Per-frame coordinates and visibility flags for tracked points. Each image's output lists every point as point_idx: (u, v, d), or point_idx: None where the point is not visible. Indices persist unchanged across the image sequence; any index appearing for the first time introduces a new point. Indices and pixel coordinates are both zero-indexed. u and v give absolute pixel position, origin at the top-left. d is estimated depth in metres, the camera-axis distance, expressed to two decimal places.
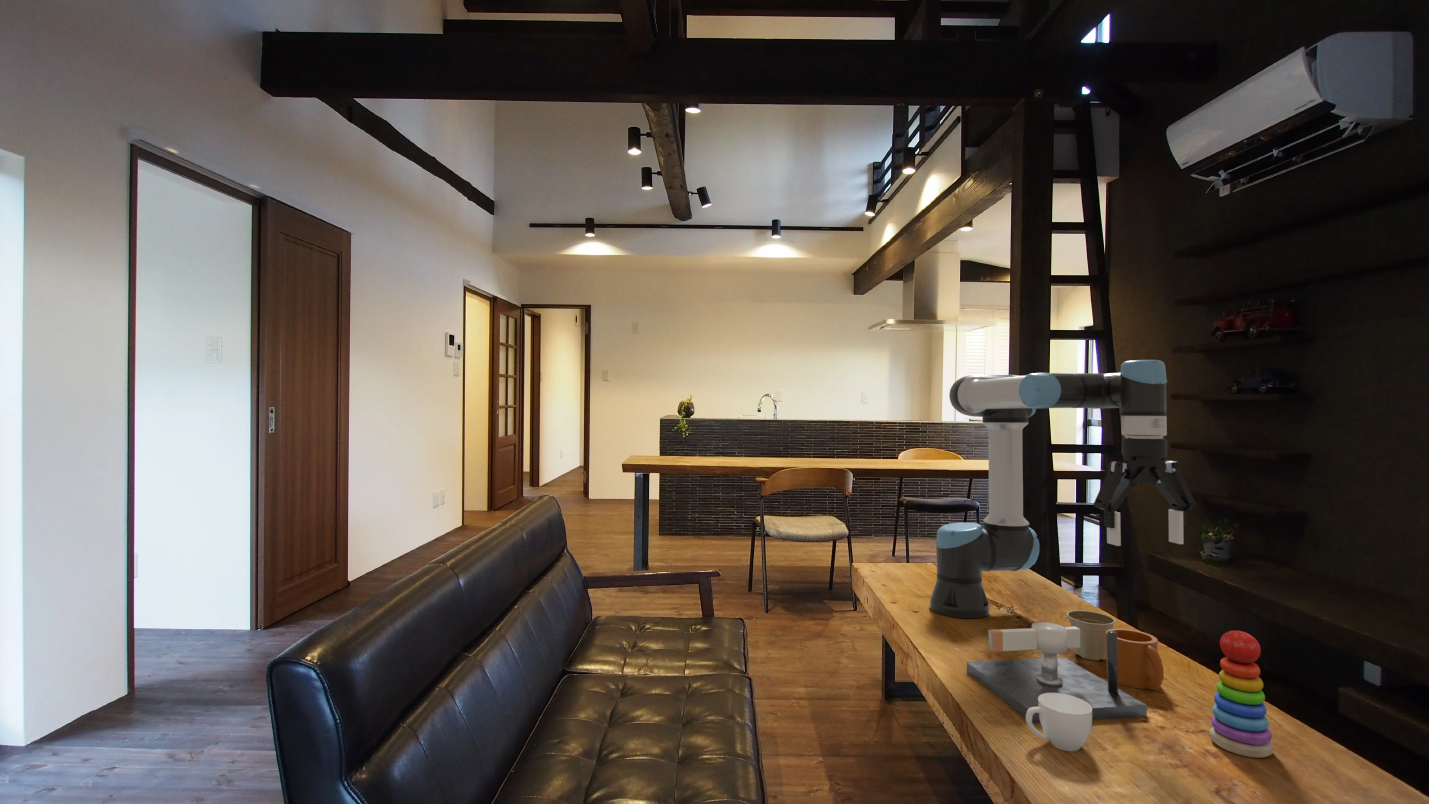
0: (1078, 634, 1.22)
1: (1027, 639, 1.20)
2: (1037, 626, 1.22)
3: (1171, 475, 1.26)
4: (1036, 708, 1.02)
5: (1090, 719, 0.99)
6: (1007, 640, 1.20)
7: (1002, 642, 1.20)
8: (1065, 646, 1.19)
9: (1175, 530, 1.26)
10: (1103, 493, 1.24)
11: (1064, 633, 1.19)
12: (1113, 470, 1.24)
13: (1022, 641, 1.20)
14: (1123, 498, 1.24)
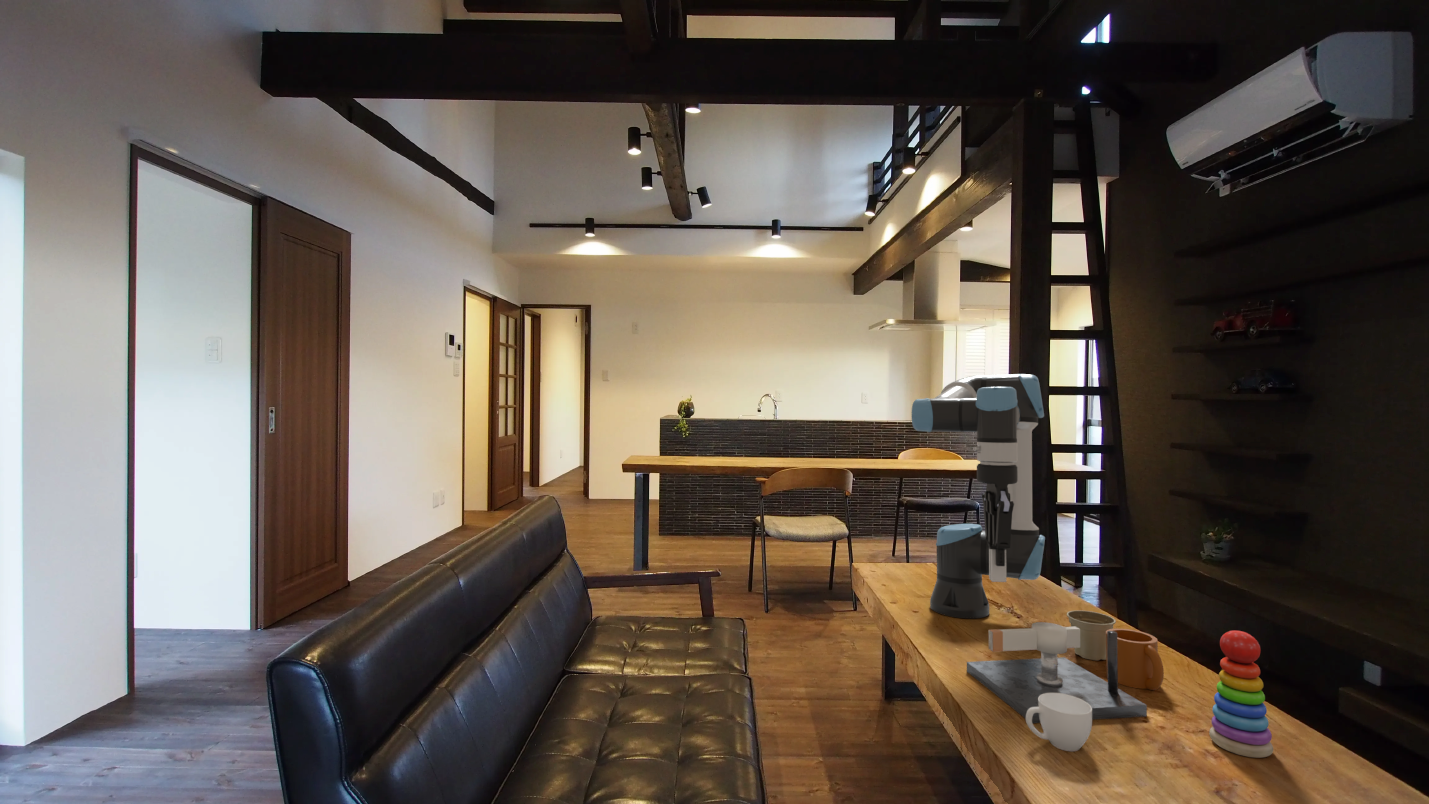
0: (1078, 634, 1.22)
1: (1027, 639, 1.20)
2: (1037, 626, 1.22)
3: None
4: (1036, 708, 1.02)
5: (1090, 719, 0.99)
6: (1007, 640, 1.20)
7: (1002, 642, 1.20)
8: (1065, 646, 1.19)
9: None
10: None
11: (1064, 633, 1.19)
12: None
13: (1022, 641, 1.20)
14: (989, 528, 1.28)
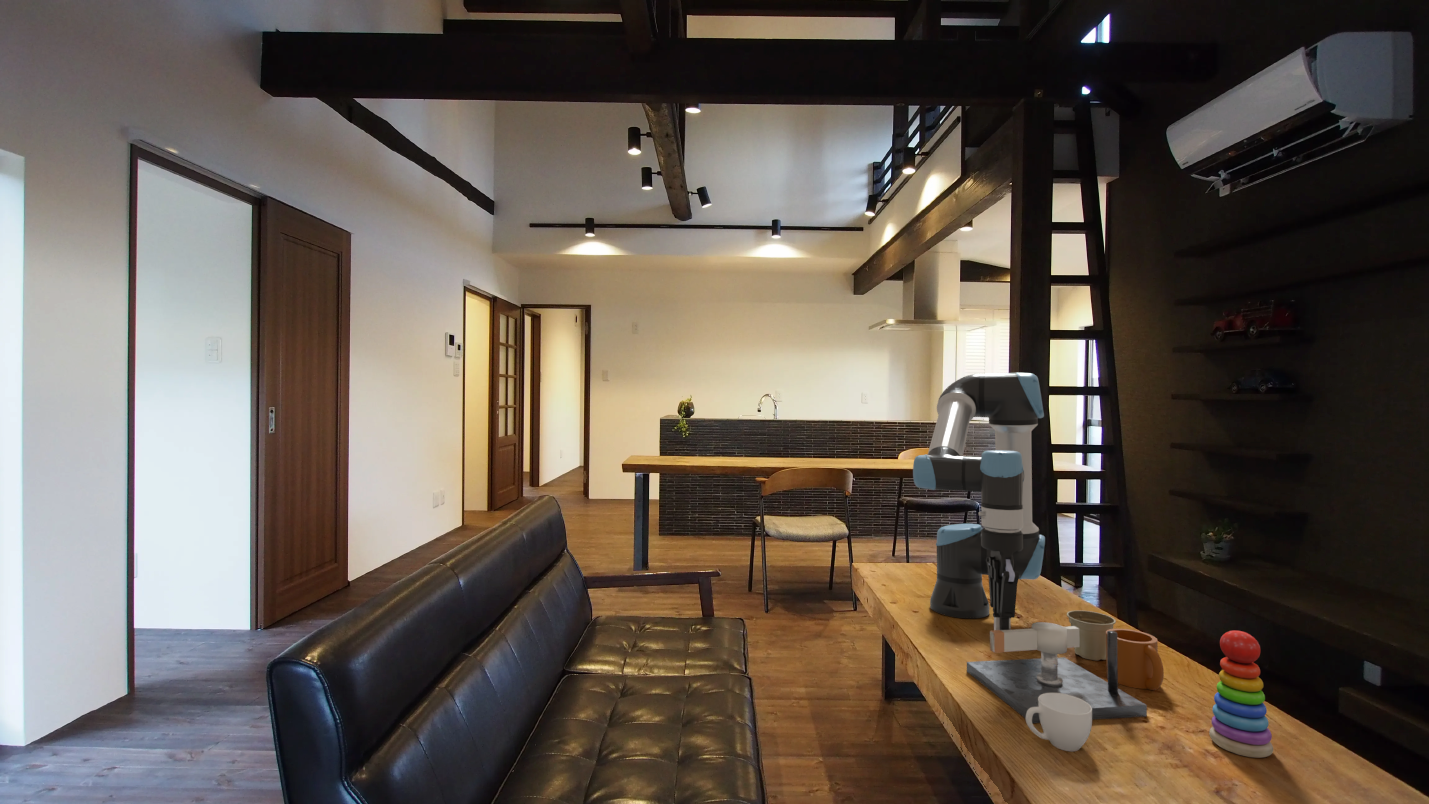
0: (1077, 634, 1.22)
1: (1028, 639, 1.20)
2: (1037, 626, 1.22)
3: None
4: (1036, 708, 1.02)
5: (1090, 719, 0.99)
6: (1008, 641, 1.20)
7: (1003, 643, 1.19)
8: (1065, 646, 1.19)
9: None
10: None
11: (1064, 633, 1.19)
12: None
13: (1023, 641, 1.20)
14: (994, 595, 1.25)
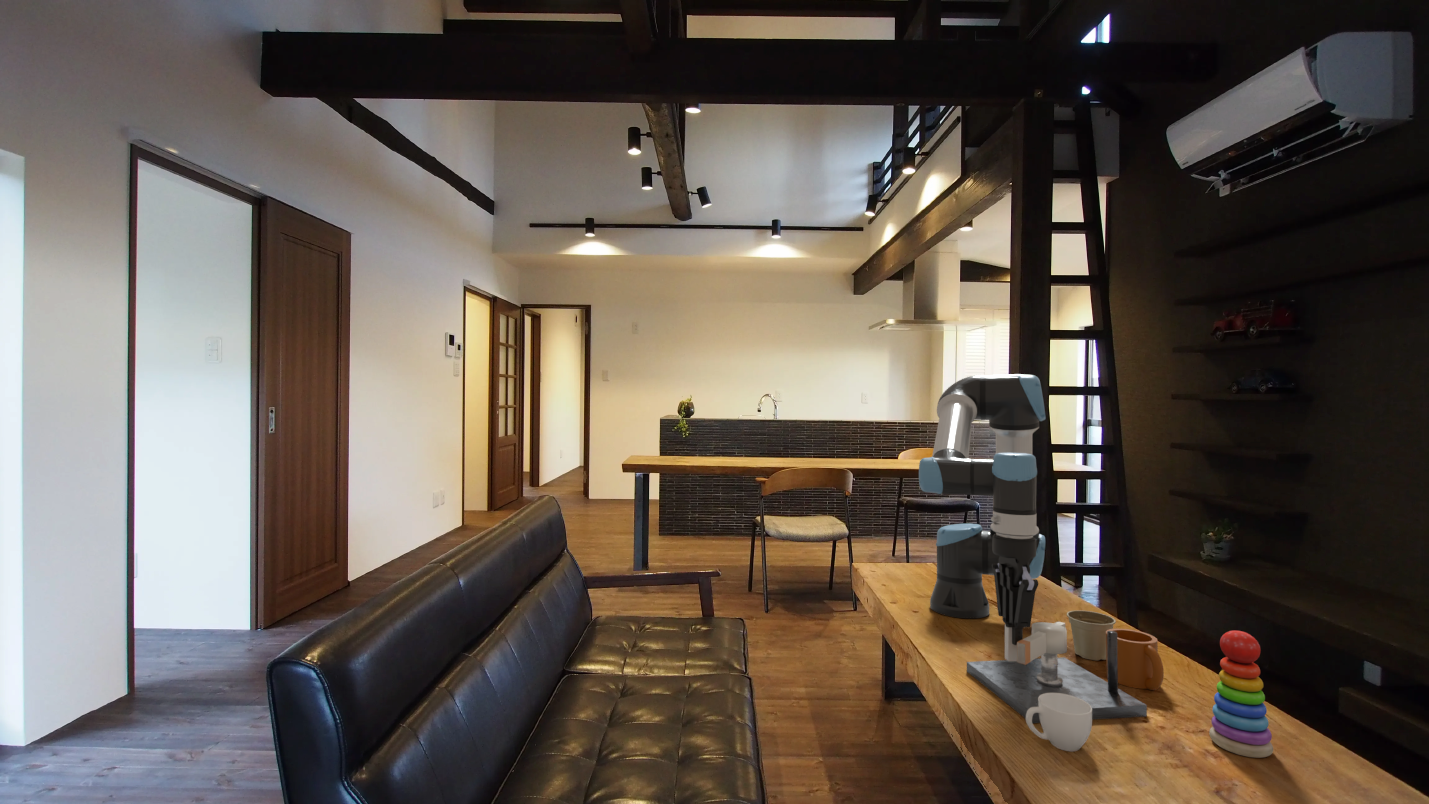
0: None
1: (1041, 644, 1.18)
2: (1041, 628, 1.21)
3: None
4: (1036, 708, 1.02)
5: (1090, 719, 0.99)
6: (1032, 649, 1.15)
7: (1030, 652, 1.15)
8: None
9: None
10: None
11: None
12: None
13: (1039, 647, 1.17)
14: (1005, 604, 1.19)
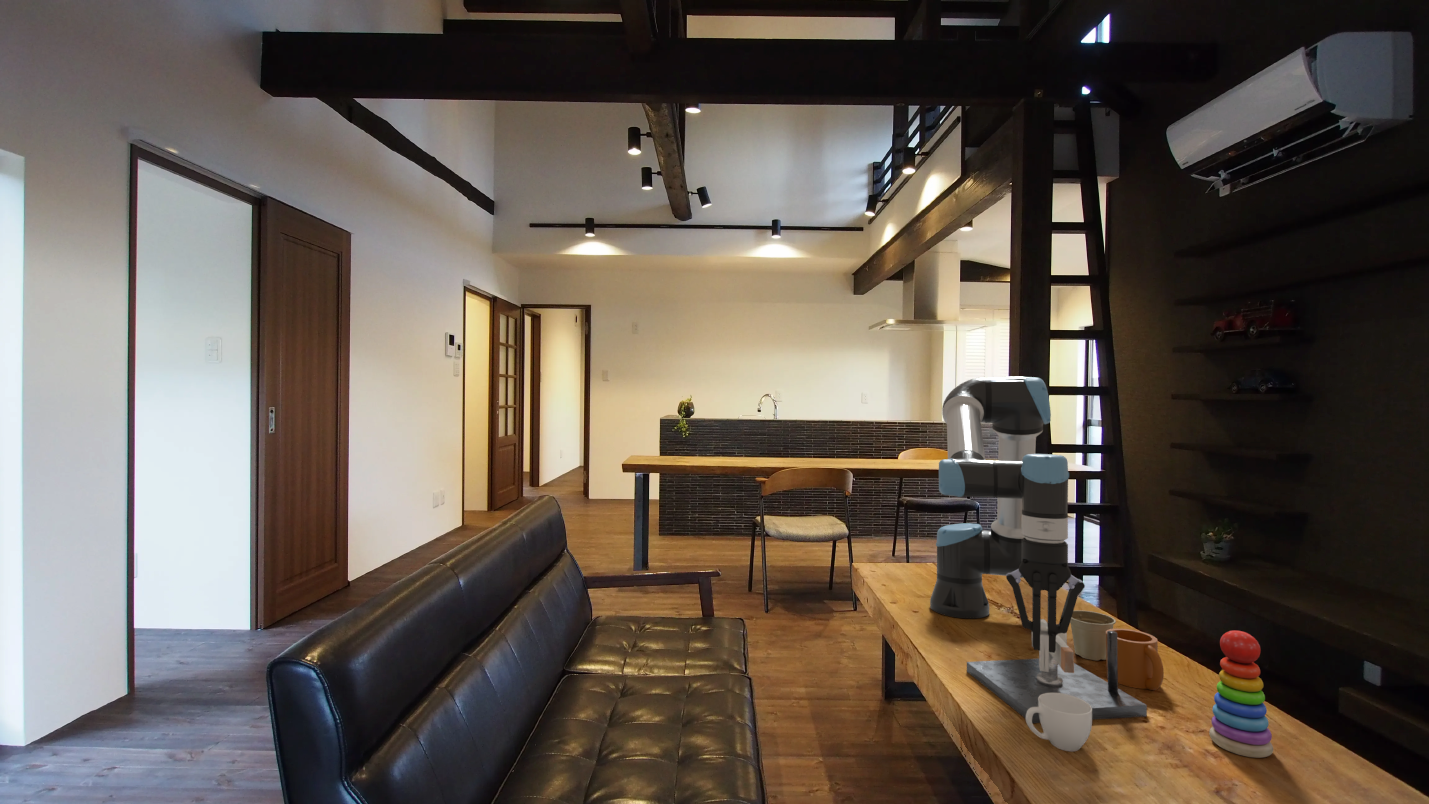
0: None
1: None
2: None
3: (1069, 592, 1.13)
4: (1036, 708, 1.02)
5: (1090, 719, 0.99)
6: None
7: None
8: None
9: None
10: None
11: None
12: None
13: None
14: (1038, 614, 1.14)
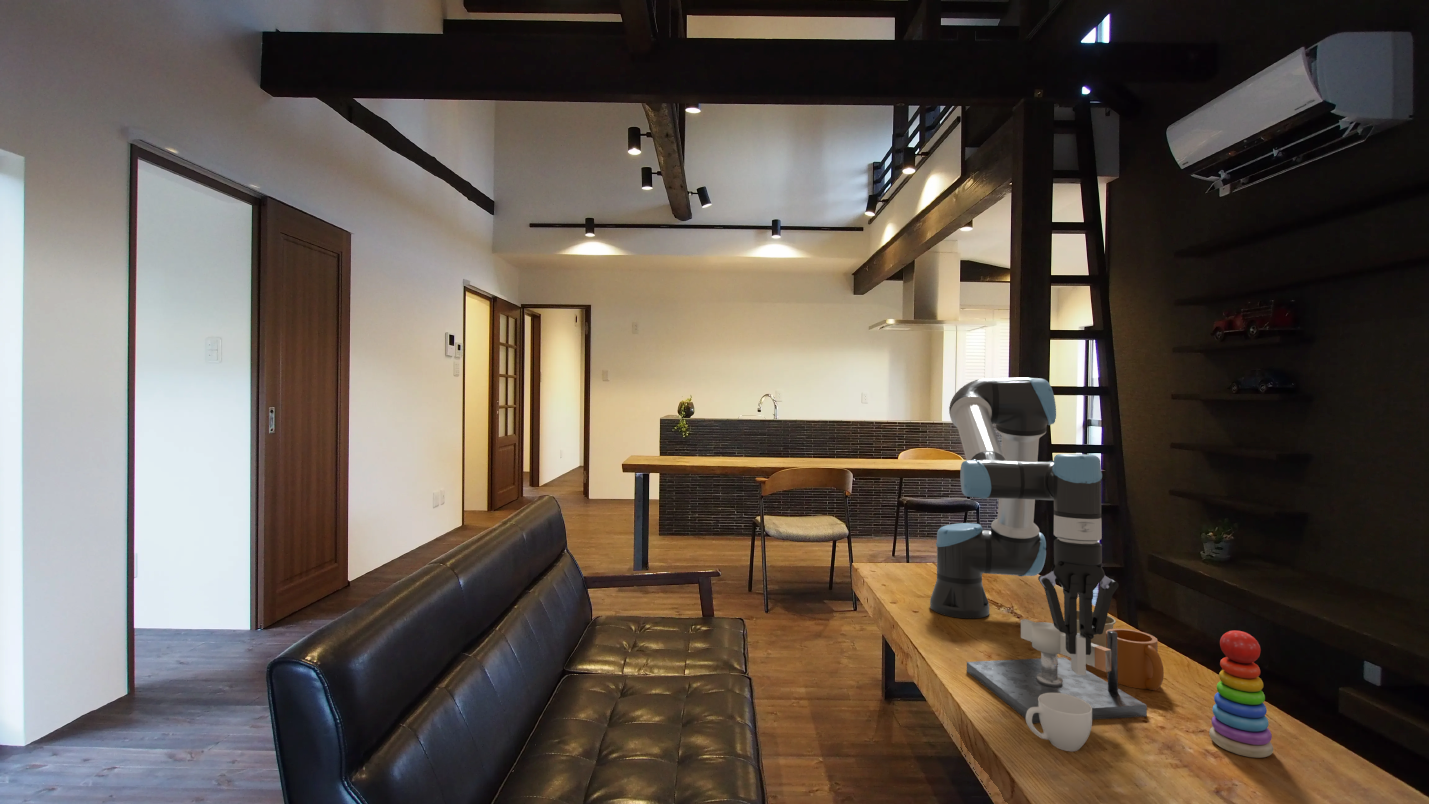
0: None
1: None
2: (1055, 630, 1.20)
3: (1102, 592, 1.12)
4: (1036, 708, 1.02)
5: (1090, 719, 0.99)
6: None
7: None
8: None
9: None
10: (1053, 615, 1.13)
11: None
12: (1045, 587, 1.14)
13: None
14: (1075, 616, 1.12)
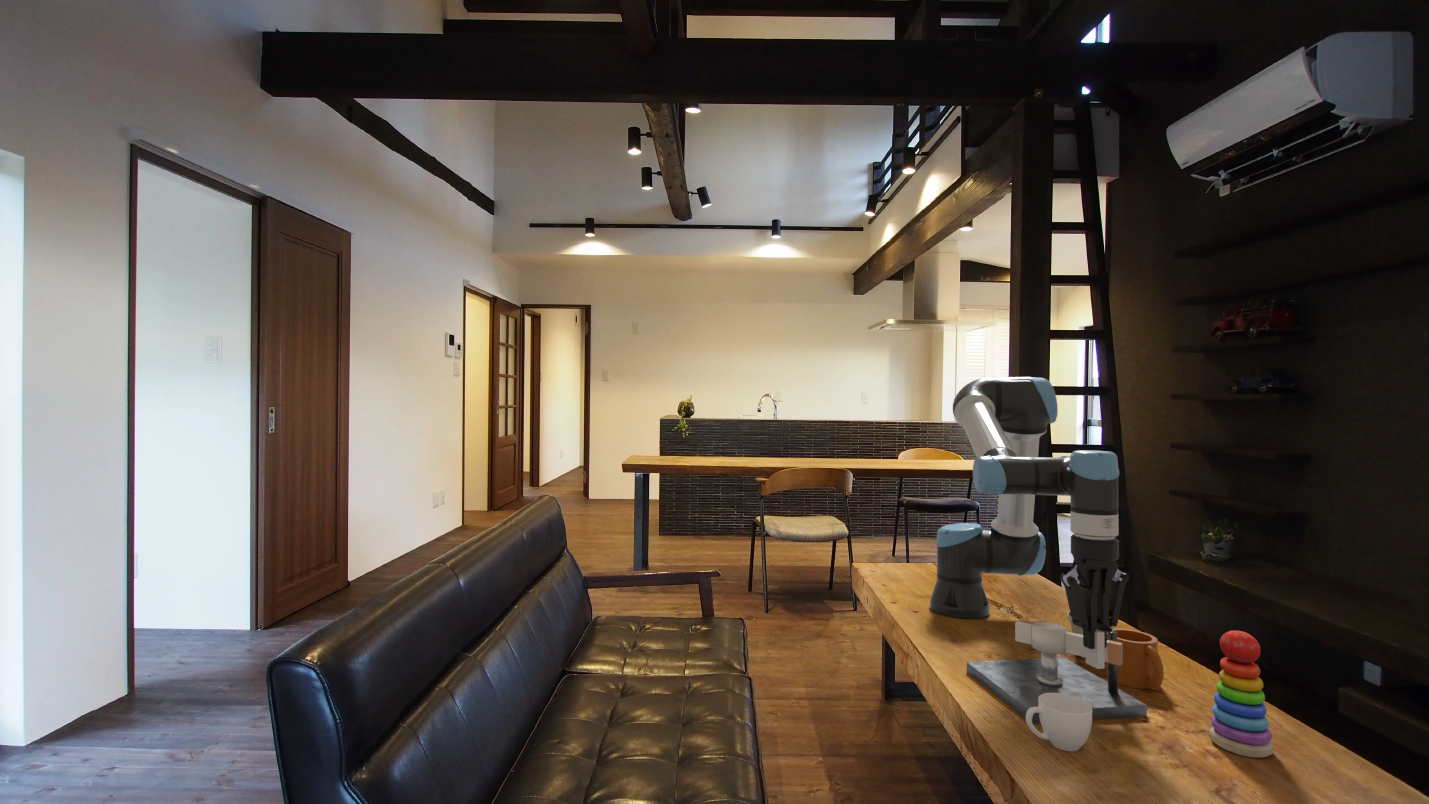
0: None
1: None
2: (1059, 630, 1.20)
3: (1113, 584, 1.15)
4: (1036, 708, 1.02)
5: (1090, 719, 0.99)
6: None
7: None
8: None
9: None
10: (1075, 612, 1.13)
11: None
12: (1069, 586, 1.13)
13: None
14: (1095, 612, 1.13)
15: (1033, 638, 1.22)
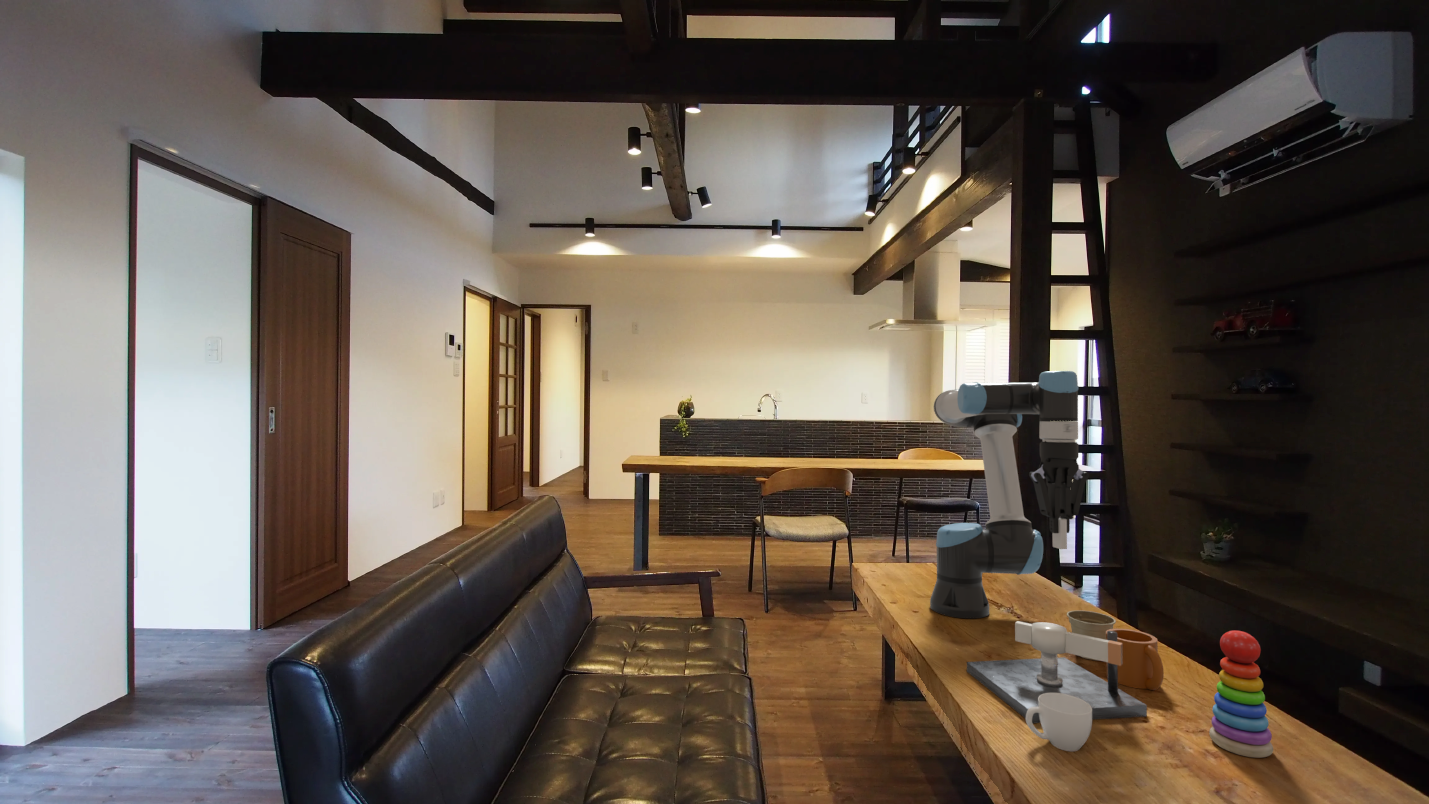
0: None
1: None
2: (1059, 630, 1.20)
3: (1075, 482, 1.39)
4: (1036, 708, 1.02)
5: (1090, 719, 0.99)
6: None
7: None
8: None
9: None
10: (1042, 503, 1.38)
11: None
12: (1036, 481, 1.38)
13: None
14: (1058, 502, 1.37)
15: (1033, 638, 1.22)
